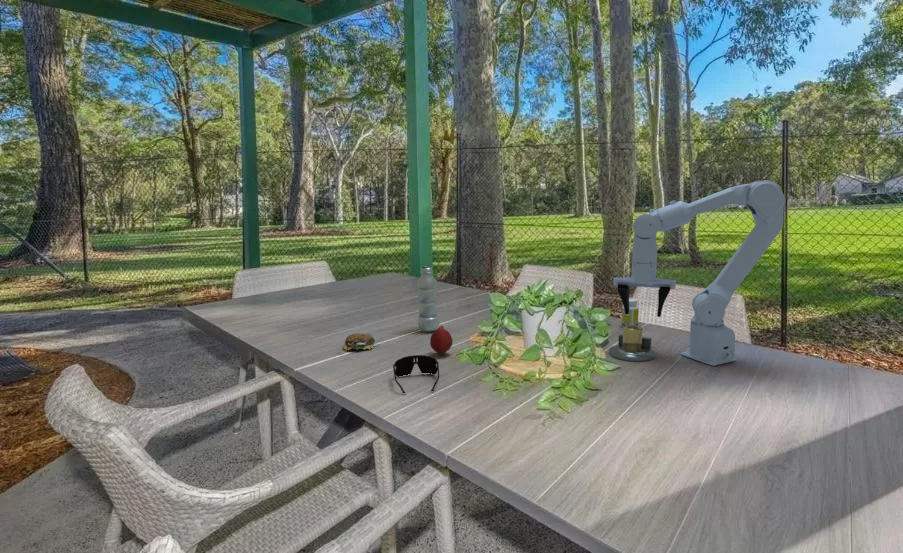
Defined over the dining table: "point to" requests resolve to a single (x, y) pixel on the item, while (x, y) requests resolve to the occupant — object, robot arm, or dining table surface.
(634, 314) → the supplement bottle
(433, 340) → the onion
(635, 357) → the flange seat
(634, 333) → the cylinder
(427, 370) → the sunglasses
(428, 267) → the plastic bottle
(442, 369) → the dining table surface
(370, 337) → the hamburger
